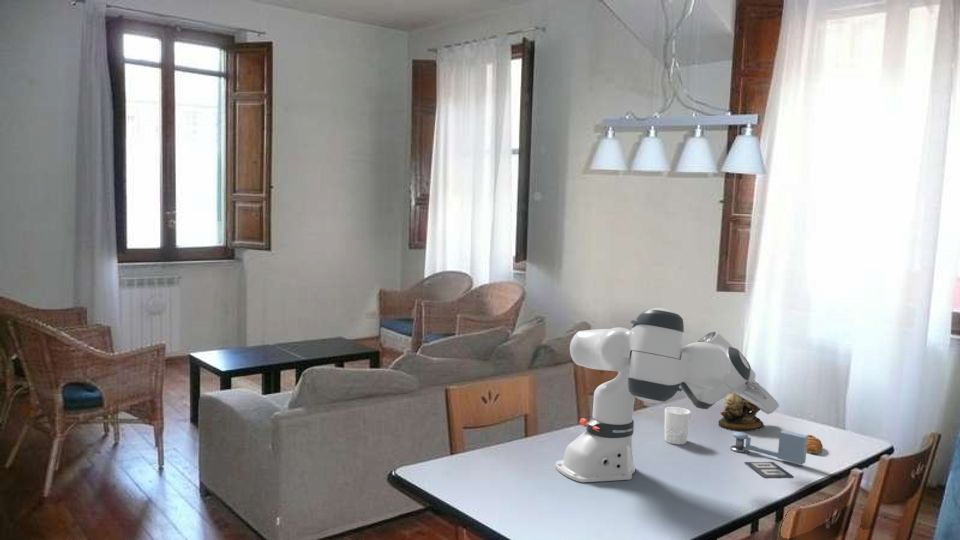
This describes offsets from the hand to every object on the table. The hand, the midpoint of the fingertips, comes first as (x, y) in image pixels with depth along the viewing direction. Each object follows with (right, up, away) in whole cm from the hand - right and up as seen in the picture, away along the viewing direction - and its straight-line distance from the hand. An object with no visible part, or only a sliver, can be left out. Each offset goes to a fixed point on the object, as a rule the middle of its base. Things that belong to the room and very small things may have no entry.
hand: (767, 411), depth 212 cm
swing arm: (+4, -15, +10) cm, 18 cm away
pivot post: (-3, -15, +16) cm, 22 cm away
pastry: (+21, -16, +20) cm, 33 cm away
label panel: (0, -17, -1) cm, 17 cm away
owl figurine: (+7, -13, +41) cm, 44 cm away
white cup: (-21, -14, +21) cm, 33 cm away
